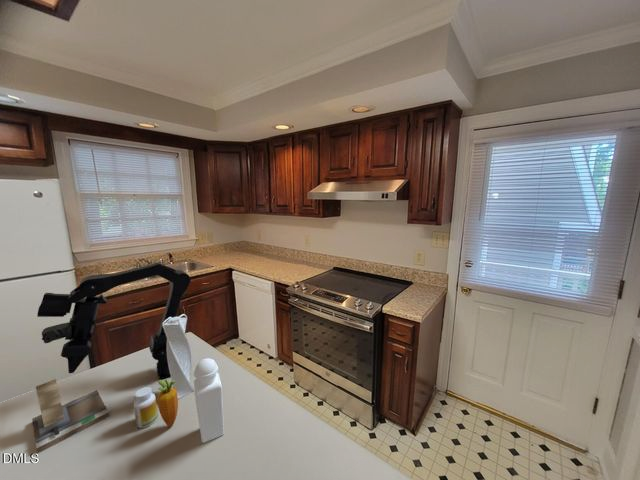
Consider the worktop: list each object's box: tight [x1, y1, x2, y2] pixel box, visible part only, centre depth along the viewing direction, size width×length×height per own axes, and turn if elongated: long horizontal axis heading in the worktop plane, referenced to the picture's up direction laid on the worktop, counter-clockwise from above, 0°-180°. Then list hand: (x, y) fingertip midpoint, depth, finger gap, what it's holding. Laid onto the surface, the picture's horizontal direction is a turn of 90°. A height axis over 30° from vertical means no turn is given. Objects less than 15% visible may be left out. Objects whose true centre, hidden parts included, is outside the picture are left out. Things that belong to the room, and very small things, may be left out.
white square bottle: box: [193, 357, 225, 444], centre depth 73 cm, size 6×6×22 cm
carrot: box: [156, 378, 179, 428], centre depth 75 cm, size 5×5×15 cm
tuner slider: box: [35, 379, 71, 437], centre depth 74 cm, size 6×12×12 cm, turn 50°
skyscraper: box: [162, 313, 195, 400], centre depth 88 cm, size 8×8×28 cm
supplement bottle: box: [133, 386, 159, 429], centre depth 78 cm, size 5×5×10 cm
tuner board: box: [31, 389, 110, 454], centre depth 79 cm, size 15×15×2 cm
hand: (72, 365), depth 83 cm, fingers open, 9 cm apart
